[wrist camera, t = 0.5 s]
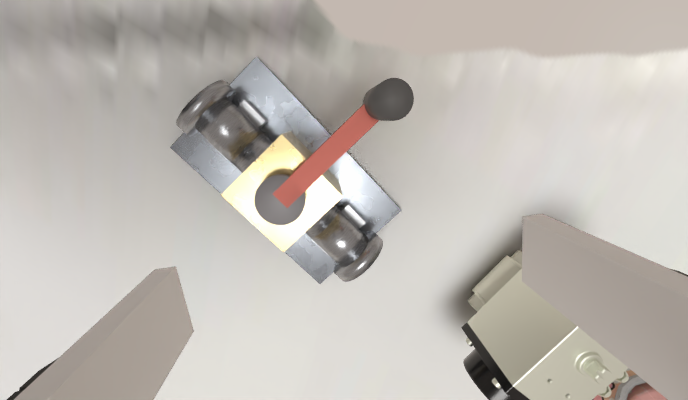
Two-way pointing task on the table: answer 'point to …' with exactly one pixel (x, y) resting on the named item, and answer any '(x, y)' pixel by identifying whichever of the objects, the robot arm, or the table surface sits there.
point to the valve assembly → (284, 171)
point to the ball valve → (531, 344)
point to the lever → (330, 152)
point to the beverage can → (632, 390)
